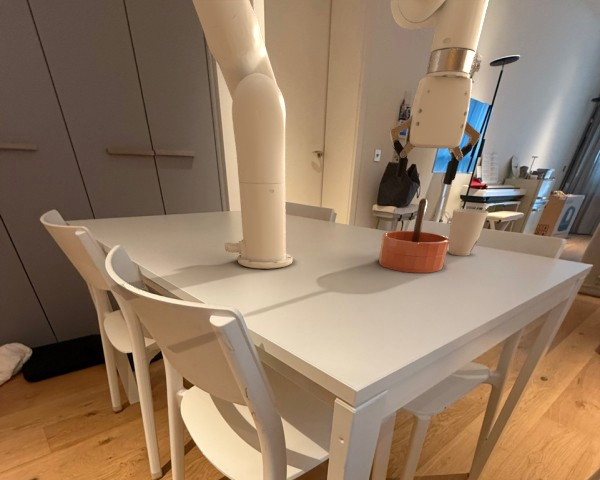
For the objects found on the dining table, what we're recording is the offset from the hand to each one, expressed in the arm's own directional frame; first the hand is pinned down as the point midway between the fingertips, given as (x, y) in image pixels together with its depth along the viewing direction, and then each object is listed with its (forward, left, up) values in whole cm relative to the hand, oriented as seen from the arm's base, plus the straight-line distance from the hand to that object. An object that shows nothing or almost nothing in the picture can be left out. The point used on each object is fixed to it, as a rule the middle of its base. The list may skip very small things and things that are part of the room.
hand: (423, 183), depth 69 cm
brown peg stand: (+1, 0, -16) cm, 16 cm away
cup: (+17, +13, -16) cm, 27 cm away
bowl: (+1, 0, -16) cm, 16 cm away
